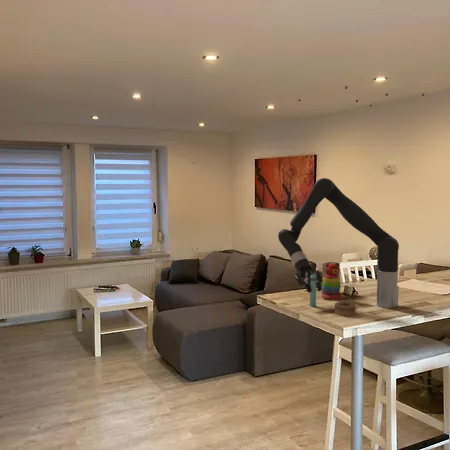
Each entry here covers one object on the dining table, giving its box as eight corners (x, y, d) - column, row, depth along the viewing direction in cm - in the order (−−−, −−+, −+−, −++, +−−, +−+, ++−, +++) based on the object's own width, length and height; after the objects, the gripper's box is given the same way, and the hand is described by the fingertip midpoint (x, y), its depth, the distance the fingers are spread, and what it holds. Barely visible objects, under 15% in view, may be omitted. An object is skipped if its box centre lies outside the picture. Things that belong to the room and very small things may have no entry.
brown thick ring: (345, 309, 222) (345, 301, 222) (359, 314, 214) (359, 305, 214) (330, 312, 218) (330, 303, 218) (344, 317, 210) (344, 308, 210)
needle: (313, 304, 231) (313, 274, 229) (317, 306, 228) (317, 275, 227) (308, 305, 229) (309, 275, 228) (312, 307, 227) (312, 276, 225)
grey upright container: (332, 295, 251) (333, 264, 250) (321, 293, 255) (321, 263, 253) (339, 291, 258) (340, 262, 257) (328, 290, 262) (329, 261, 261)
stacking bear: (325, 300, 239) (326, 265, 238) (317, 295, 249) (318, 262, 248) (345, 299, 242) (346, 264, 240) (336, 294, 251) (337, 261, 250)
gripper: (292, 259, 230) (306, 288, 221) (315, 257, 237) (331, 285, 227) (285, 268, 235) (299, 297, 226) (309, 265, 242) (323, 293, 232)
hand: (315, 291), depth 226 cm, fingers open, 5 cm apart
